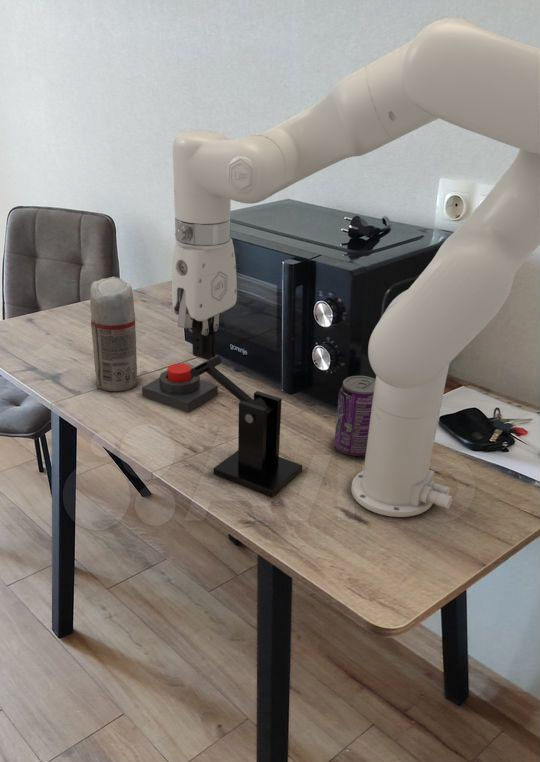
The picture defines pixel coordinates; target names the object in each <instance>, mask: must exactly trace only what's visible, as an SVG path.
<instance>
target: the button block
mask: <svg viewBox="0 0 540 762" xmlns="http://www.w3.org/2000/svg"><path fill="white" fill-rule="evenodd" d="M200 377H201V375H199V376H198V377H193V376H192V375H191V380H189V381H186V382H172V381H169V380H168V373H167V370H164V371H163V372H161V373H160V375H159V376H158V378H156V379H154V380H153V381H151V382H149V383H146V384H144V385H143V386H141V394H142V397H143V398H147V399H148V400H152V401H155V402H157V403H160V404H163V405H166V406H168V407H171V408H175V409H178V410H180V411H183V412H186V413H190V412H192V411H193V410H195V409H197V408H198V407H200V406H202V405H203V404H205V403H206V402H209V401H210V400H212V399H213V398H215V397H217V396H218V395H219V394H218V390H219V389H218V387H219V386H218V385H217V384H214V383H212V382H208V381H205V380H203V379H201V378H200Z"/></svg>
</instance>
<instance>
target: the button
mask: <svg viewBox="0 0 540 762" xmlns="http://www.w3.org/2000/svg"><path fill="white" fill-rule="evenodd" d="M191 369H192V367H191V365H189V364H187V363H173V364H170V365H168V367H167V369H166V371H167V373H168V380H169V381H172V382H186V381H189V380H191Z"/></svg>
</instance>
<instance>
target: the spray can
mask: <svg viewBox="0 0 540 762" xmlns="http://www.w3.org/2000/svg"><path fill="white" fill-rule="evenodd" d="M89 292H90V293H89V299H90V300H89V308H90V328H91V338H92V339H91V340H92V348H93V350H92V352H93V359H94V361H93V362H94V371H95V385H96V387H97V388H99V389H100V390H104V391H108V392H121V391H122V392H123V391H127V390H131V389H133V388H135V387H136V386H137V384H138V379H137V378H138V377H137V376H138V364H137V333H136V332H137V331H136V313H135V305H134V304H135V302H134V294H133V287H132V285H131V283H128V282H125V280H124V279H122V278H120V277H117V276H115V275H114V276H110V277H107V278H101V279H100V280H94V281H92V282H91V285H90V290H89Z"/></svg>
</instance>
